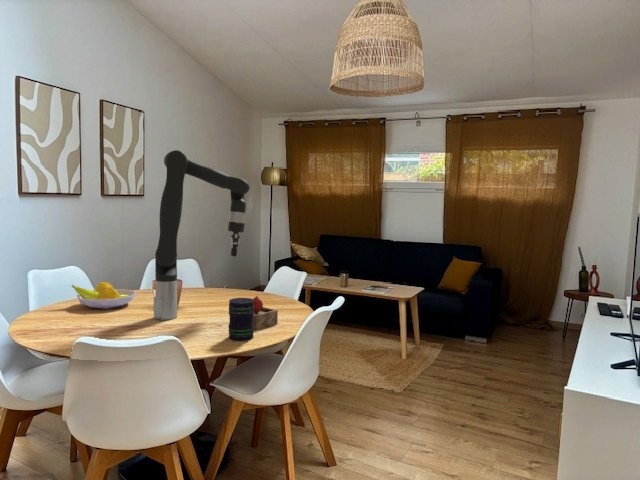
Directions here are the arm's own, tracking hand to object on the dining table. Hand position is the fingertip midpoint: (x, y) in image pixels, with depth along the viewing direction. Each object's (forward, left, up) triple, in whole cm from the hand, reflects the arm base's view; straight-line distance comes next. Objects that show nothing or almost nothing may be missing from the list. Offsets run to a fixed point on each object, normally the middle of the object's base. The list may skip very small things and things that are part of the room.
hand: (233, 256), depth 217 cm
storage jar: (-24, -31, -28) cm, 48 cm away
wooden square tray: (-6, -21, -28) cm, 36 cm away
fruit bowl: (-33, +57, -28) cm, 71 cm away
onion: (-6, -21, -23) cm, 32 cm away
